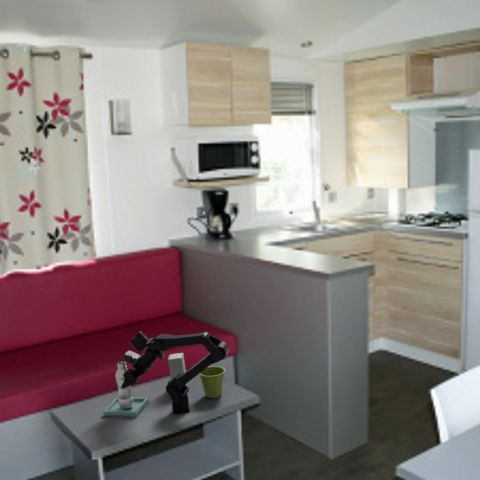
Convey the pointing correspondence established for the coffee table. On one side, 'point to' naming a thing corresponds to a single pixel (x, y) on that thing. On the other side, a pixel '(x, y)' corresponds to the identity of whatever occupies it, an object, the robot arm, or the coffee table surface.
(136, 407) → the tray
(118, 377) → the plastic bottle
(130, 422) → the coffee table surface
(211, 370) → the plant pot
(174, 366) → the skincare box
